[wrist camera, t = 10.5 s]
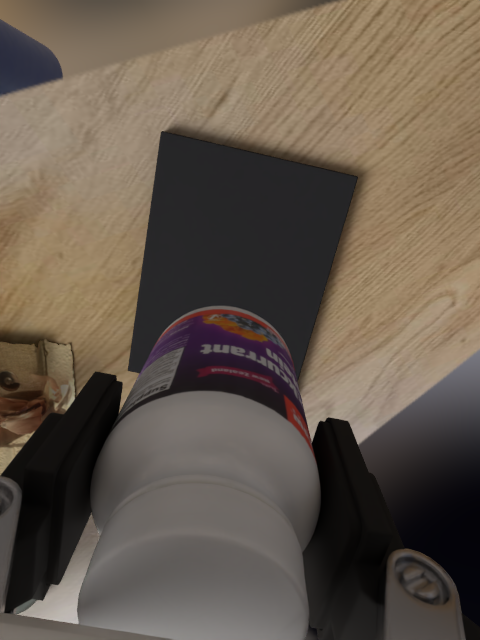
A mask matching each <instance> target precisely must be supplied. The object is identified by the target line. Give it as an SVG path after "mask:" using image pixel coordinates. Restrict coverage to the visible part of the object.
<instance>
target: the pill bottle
mask: <svg viewBox="0 0 480 640" xmlns="http://www.w3.org/2000/svg"><path fill="white" fill-rule="evenodd" d="M90 502H91V509H92V515H93V519H94V522H95V525H96V527H97V530H98V532H99V534H100V538H99V541H98V544H97V546H96V548H95V551H94V553H93V556H92V558H91V561H90V564H89V567H88V570H87V573H86V576H85V578H84V581H83V583H82V587H81V590H80V593H79V598H78V608H77V612H78V621H79V625H85V626H92V627H98V628H105V629H111V630H117V631H124V632H130V633H137V634H143V635H149V636H155V637H162V638H168V639H174V640H305V638H306V635H307V631H308V625H309V606H308V598H307V591H306V584H305V576H304V563H303V555H302V552H303V551H304V550H305V548H306V546H307V545H308V543H309V542H310V540H311V538H312V536H313V533H314V531H315V528H316V525H317V521H318V518H319V513H320V506H321V488H320V480H319V473H318V468H317V463H316V459H315V455H314V451H313V447H312V443H311V438H310V434H309V430H308V425H307V421H306V417H305V413H304V409H303V404H302V399H301V395H300V391H299V387H298V382H297V377H296V373H295V369H294V365H293V361H292V358H291V355H290V352H289V350H288V347H287V345H286V343H285V342H284V340H283V339H282V337H281V336H280V334H279V333H278V332H277V331H276V330H275V329H274V327H273V326H271V325H270V324H269V323H268V322H267V321H265V320H264V319H262V318H261V317H259V316H257V315H255V314H253V313H251V312H249V311H246V310H243V309H240V308H236V307H230V306H210V307H204V308H200V309H196V310H194V311H191V312H189V313H187V314H185V315H183V316H181V317H180V318H179V319H177V320H176V321H174V322H173V323H172V324H171V325H170V326H169V327H168V328H167V329H166V330H165V331H164V332H163V334H162V335H161V336H160V338H159V339H158V341H157V343H156V344H155V346H154V347H153V349H152V351H151V353H150V355H149V357H148V359H147V361H146V363H145V365H144V367H143V369H142V370H141V372H140V374H139V376H138V378H137V380H136V382H135V384H134V386H133V388H132V390H131V391H130V394H129V395H128V397H127V399H126V401H125V403H124V405H123V407H122V409H121V411H120V413H119V415H118V417H117V419H116V421H115V423H114V425H113V427H112V429H111V430H110V432H109V434H108V436H107V438H106V440H105V442H104V444H103V447H102V449H101V451H100V453H99V456H98V458H97V461H96V463H95V466H94V469H93V473H92V479H91V486H90Z"/></svg>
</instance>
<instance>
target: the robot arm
mask: <svg viewBox="0 0 480 640" xmlns="http://www.w3.org/2000/svg"><path fill="white" fill-rule="evenodd" d="M116 380H117V379H116V375H111V374H106V373H101V372H95V373H94V374H93V375H92V376H91V378H90V379H89V381H88V382H87V383H86V385H85V386H84V387H83V389H82V390H81V392H80V393H79V394H78V396H77V397H76V398H75V400H74V401H73V402H72V404H71V405H70V407H69V408H68V409H67V411H66V412H65V413H64V414H59V413H54V412H53V413H50V414H49V415H48V416H47V417H46V418H45V420H44V421H43V422H42V423H41V425H40V426H39V427H38V428H37V430H36V431H35V432H34V433H33V435H32V436H31V437H30V438H29V440H28V441H27V442H26V444H25V445H24V446H23V447H22V449H21V450H20V451H19V452H18V454H17V455H16V456H15V457H14V459H13V460H12V461H11V462H10V464H9V465H8V466H7V467H6V469H5V470H4V471H3V473H2V474H1V475H0V640H174V639H168V638H162V637H155V636H149V635H143V634H137V633H130V632H124V631H117V630H111V629H105V628H98V627H92V626H85V625H79V624H72V623H66V622H59V621H53V620H46V619H40V618H34V617H27V616H21V615H16V607H18V606H20V605H22V604H24V603H26V602H27V601H29V600H31V599H36V600H42V601H43V599H44V597H45V595H46V593H47V591H48V589H49V587H50V584H54V585H59V583H60V582H61V580H62V577H63V575H64V573H65V571H66V568H67V566H68V564H69V562H70V559H71V557H72V555H73V553H74V551H75V548H76V546H77V544H78V542H79V539H80V537H81V535H82V533H83V530H84V528H85V526H86V524H87V521H88V519H89V517H90V515H91V512H92V509H91V502H90V486H91V479H92V473H93V469H94V466H95V463H96V461H97V458H98V456H99V453H100V451H101V449H102V447H103V444H104V442H105V440H106V438H107V436H108V434H109V432H110V430H111V429H112V427H113V425H114V423H115V421H116V419H117V417H118V415H119V408H120V401H121V393H122V385H123V384H122V382H119V381H116ZM312 447H313V451H314V455H315V459H316V463H317V468H318V473H319V480H320V488H321V506H320V513H319V518H318V521H317V525H316V528H315V531H314V533H313V536H312V538H311V540H310V542H309V543H308V545H307V546H306V548H305V550H304V551H303V552H302V555H303V563H304V576H305V584H306V591H307V598H308V606H309V622H310V626H311V627H313V628H317V633H318V640H480V627H478V626H477V625H476V624H474V623H473V622H472V621H471V620H470V619H468V618H467V617H466V616H465V615H464V614H462V613H461V608H460V603H459V596H458V593H457V589H456V587H455V584H454V583H453V581H452V580H451V578H450V576H449V575H448V574H447V573H446V572H445V570H444V569H443V568H442V567H441V566H440V565H438V564H437V563H436V562H435V561H433V560H432V559H431V558H429V557H427V556H425V555H424V554H422V553H420V552H416V551H413V550H410V549H405V548H404V546H403V544H402V541H401V539H400V537H399V534H398V531H397V529H396V526H395V524H394V522H393V519H392V517H391V514H390V512H389V509H388V507H387V505H386V502H385V500H384V497H383V495H382V493H381V490H380V488H379V485H378V483H377V480H376V478H375V476H374V475H373V474H372V473H369V472H368V469H367V467H366V464H365V462H364V459H363V457H362V454H361V452H360V449H359V447H358V444H357V442H356V439H355V437H354V434H353V432H352V429H351V427H350V424H349V422H348V421H344V420H339V419H334V418H329V417H328V418H327V419H326V421H325V422H323V421H320V422H319V424H318V426H317V429H316V432H315V435H314V438H313V441H312Z"/></svg>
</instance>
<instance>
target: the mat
mask: <svg viewBox="0 0 480 640" xmlns="http://www.w3.org/2000/svg"><path fill="white" fill-rule="evenodd" d="M357 179H358V177H357V176H353V175H349V174H345V173H340V172H336V171H332V170H327V169H323V168H319V167H314V166H310V165H306V164H302V163H297V162H293V161H289V160H284V159H280V158H276V157H271V156H267V155H263V154H258V153H254V152H250V151H246V150H241V149H237V148H233V147H228V146H224V145H220V144H215V143H211V142H207V141H203V140H198V139H194V138H190V137H185V136H181V135H177V134H172V133H168V132H164V131H162V132H161V136H160V144H159V151H158V158H157V165H156V172H155V180H154V187H153V194H152V201H151V208H150V215H149V223H148V230H147V237H146V244H145V251H144V258H143V266H142V273H141V280H140V287H139V294H138V302H137V309H136V316H135V323H134V330H133V337H132V345H131V352H130V359H129V366H128V371H132V372H137V373H140V372H141V370H142V369H143V367H144V365H145V363H146V361H147V359H148V357H149V355H150V353H151V351H152V349H153V347H154V346H155V344H156V343H157V341H158V339H159V338H160V336H161V335H162V334H163V332H164V331H165V330H166V329H167V328H168V327H169V326H170V325H171V324H172V323H173V322H174V321H176V320H177V319H179V318H180V317H181V316H183V315H185V314H187V313H189V312H191V311H194V310H196V309H200V308H204V307H210V306H230V307H236V308H240V309H243V310H246V311H249V312H251V313H253V314H255V315H257V316H259V317H261V318H262V319H264V320H265V321H267V322H268V323H269V324H270V325H271V326H273V327H274V329H275V330H276V331H277V332H278V333H279V334H280V336H281V337H282V339H283V340H284V342H285V343H286V345H287V347H288V350H289V352H290V355H291V358H292V361H293V365H294V369H295V373H296V377H297V382H298V378H299V375H300V372H301V368H302V365H303V361H304V358H305V355H306V351H307V348H308V345H309V341H310V338H311V334H312V331H313V328H314V324H315V321H316V318H317V314H318V311H319V307H320V304H321V301H322V297H323V294H324V291H325V287H326V284H327V280H328V277H329V274H330V270H331V267H332V263H333V260H334V257H335V253H336V250H337V247H338V243H339V240H340V236H341V233H342V230H343V226H344V223H345V220H346V216H347V213H348V209H349V206H350V203H351V199H352V196H353V193H354V189H355V186H356V182H357Z"/></svg>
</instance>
